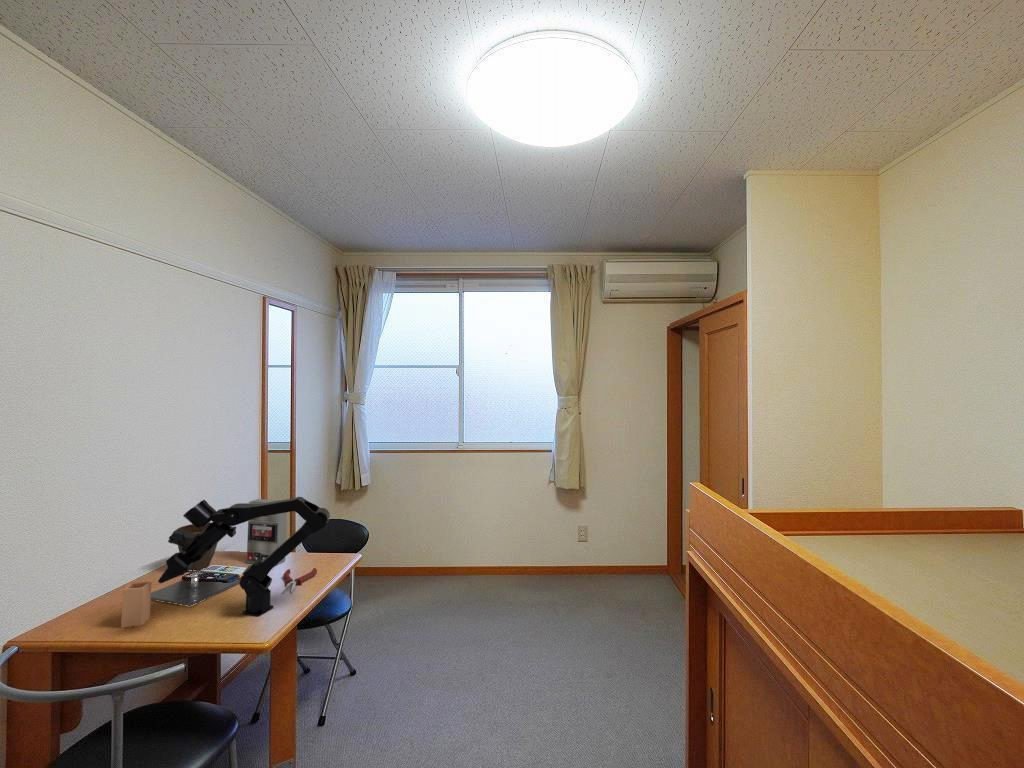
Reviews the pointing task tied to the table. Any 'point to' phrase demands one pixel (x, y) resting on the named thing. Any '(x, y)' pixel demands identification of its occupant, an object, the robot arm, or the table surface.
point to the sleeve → (136, 604)
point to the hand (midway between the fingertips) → (166, 576)
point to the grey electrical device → (265, 534)
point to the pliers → (296, 580)
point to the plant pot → (207, 558)
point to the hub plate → (191, 591)
